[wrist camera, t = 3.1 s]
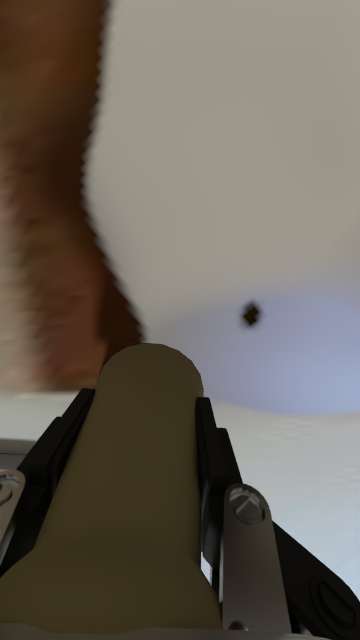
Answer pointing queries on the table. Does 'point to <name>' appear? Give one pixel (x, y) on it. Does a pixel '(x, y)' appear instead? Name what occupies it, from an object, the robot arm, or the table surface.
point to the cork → (123, 511)
